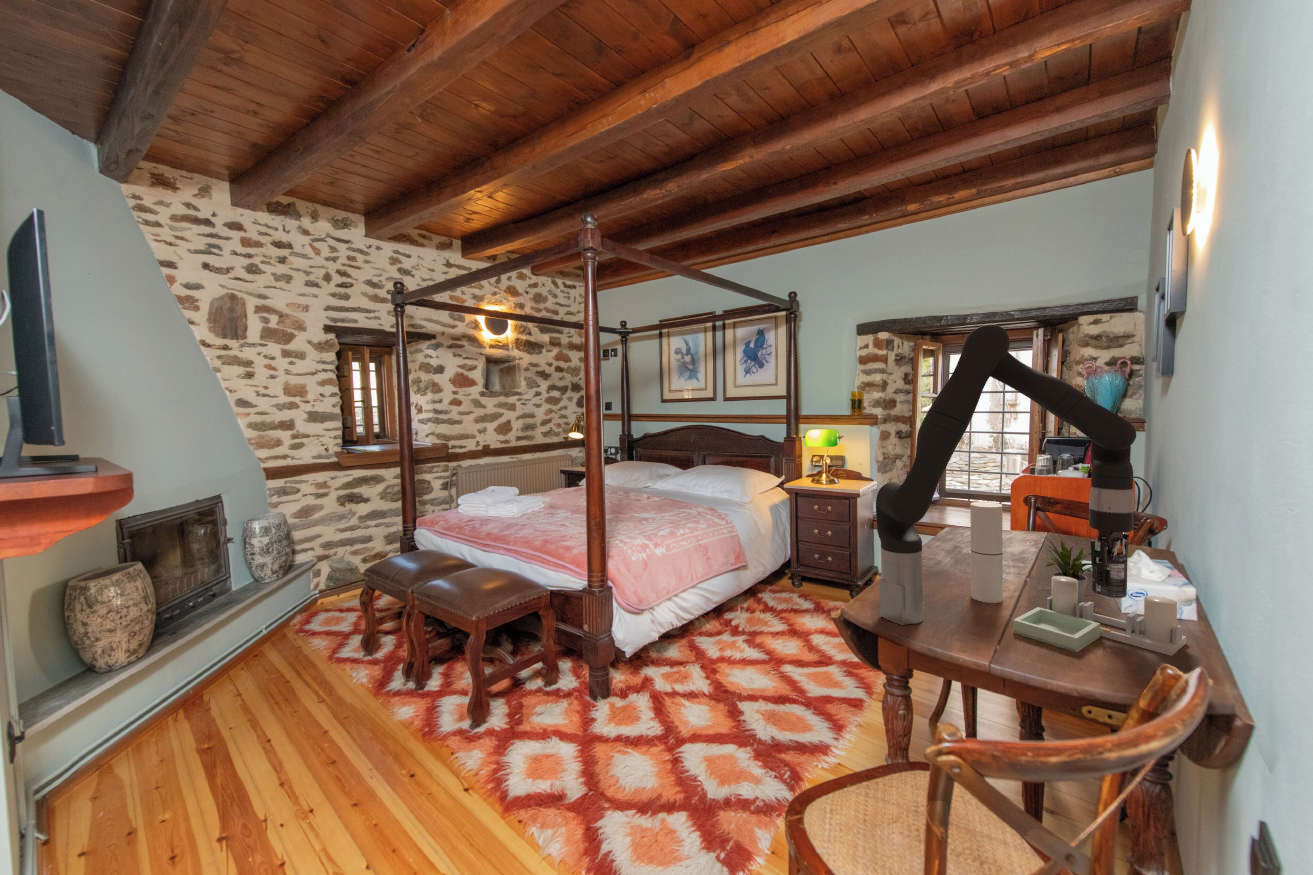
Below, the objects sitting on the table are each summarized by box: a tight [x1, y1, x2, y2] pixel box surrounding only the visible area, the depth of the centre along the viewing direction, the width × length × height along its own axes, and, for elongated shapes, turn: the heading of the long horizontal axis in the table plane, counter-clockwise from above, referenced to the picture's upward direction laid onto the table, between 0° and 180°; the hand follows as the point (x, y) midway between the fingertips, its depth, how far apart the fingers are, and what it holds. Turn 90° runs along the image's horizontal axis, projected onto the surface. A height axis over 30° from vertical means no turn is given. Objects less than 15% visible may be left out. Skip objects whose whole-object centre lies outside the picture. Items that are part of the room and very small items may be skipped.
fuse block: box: [1046, 576, 1187, 656], centre depth 119 cm, size 9×23×10 cm, turn 32°
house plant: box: [1037, 536, 1092, 604], centre depth 138 cm, size 14×14×16 cm
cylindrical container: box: [969, 501, 1004, 604], centre depth 141 cm, size 7×7×25 cm
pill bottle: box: [1091, 545, 1128, 599], centre depth 119 cm, size 6×6×11 cm
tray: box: [1012, 606, 1101, 653], centre depth 119 cm, size 12×12×3 cm
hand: (1109, 582), depth 119 cm, fingers closed on pill bottle, 6 cm apart
